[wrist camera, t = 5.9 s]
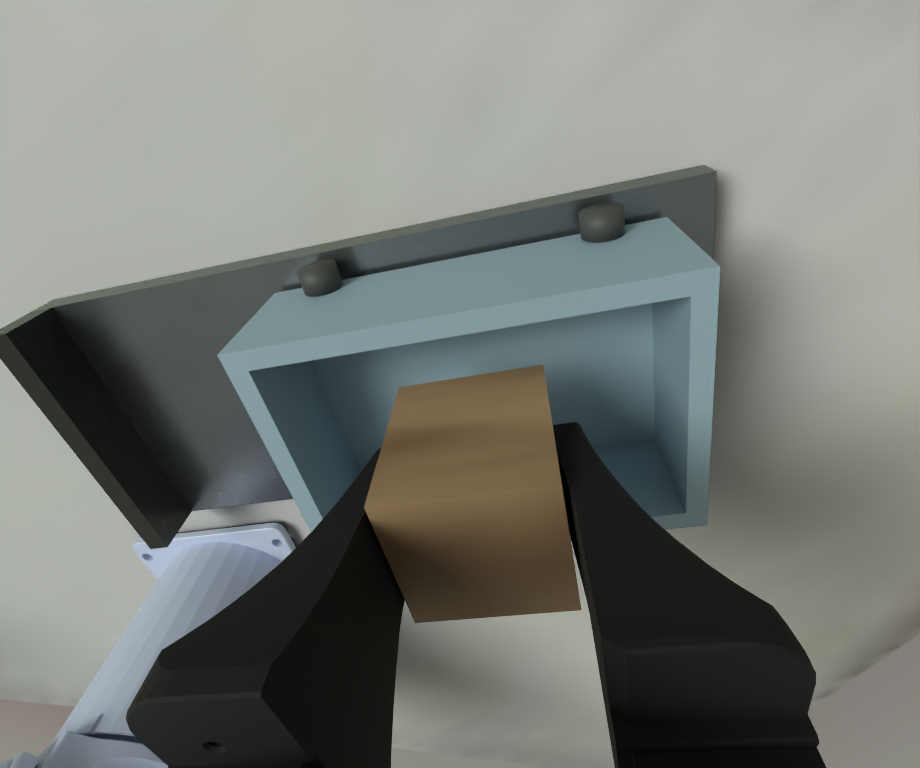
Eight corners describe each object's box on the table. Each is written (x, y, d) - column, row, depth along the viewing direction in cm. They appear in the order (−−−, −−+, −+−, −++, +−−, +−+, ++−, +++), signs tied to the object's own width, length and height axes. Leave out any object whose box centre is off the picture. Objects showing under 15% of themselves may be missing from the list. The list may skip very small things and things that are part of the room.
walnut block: (560, 475, 16) (581, 610, 12) (433, 491, 16) (414, 622, 13) (543, 364, 14) (561, 484, 10) (398, 387, 14) (363, 507, 10)
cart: (667, 454, 19) (705, 541, 16) (360, 492, 21) (334, 577, 18) (666, 189, 14) (722, 232, 11) (265, 271, 16) (203, 329, 13)
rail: (695, 431, 20) (724, 485, 18) (186, 496, 24) (150, 549, 21) (704, 165, 15) (746, 186, 13) (53, 299, 19) (-16, 337, 16)
